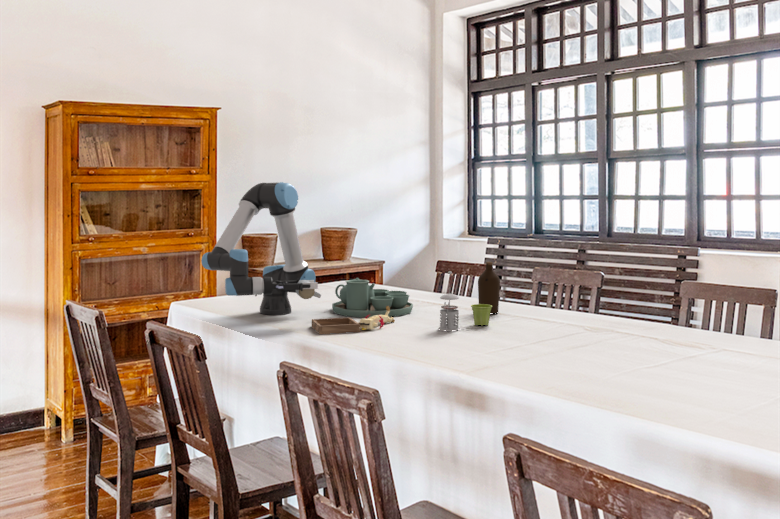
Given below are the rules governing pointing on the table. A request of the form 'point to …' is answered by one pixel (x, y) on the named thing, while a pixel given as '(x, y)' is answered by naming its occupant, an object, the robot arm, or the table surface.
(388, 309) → the cat figure
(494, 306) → the olive oil
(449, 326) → the french press
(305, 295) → the ceramic mug
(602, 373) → the table surface
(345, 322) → the tray
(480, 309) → the plant pot
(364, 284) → the tea set
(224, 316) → the table surface
